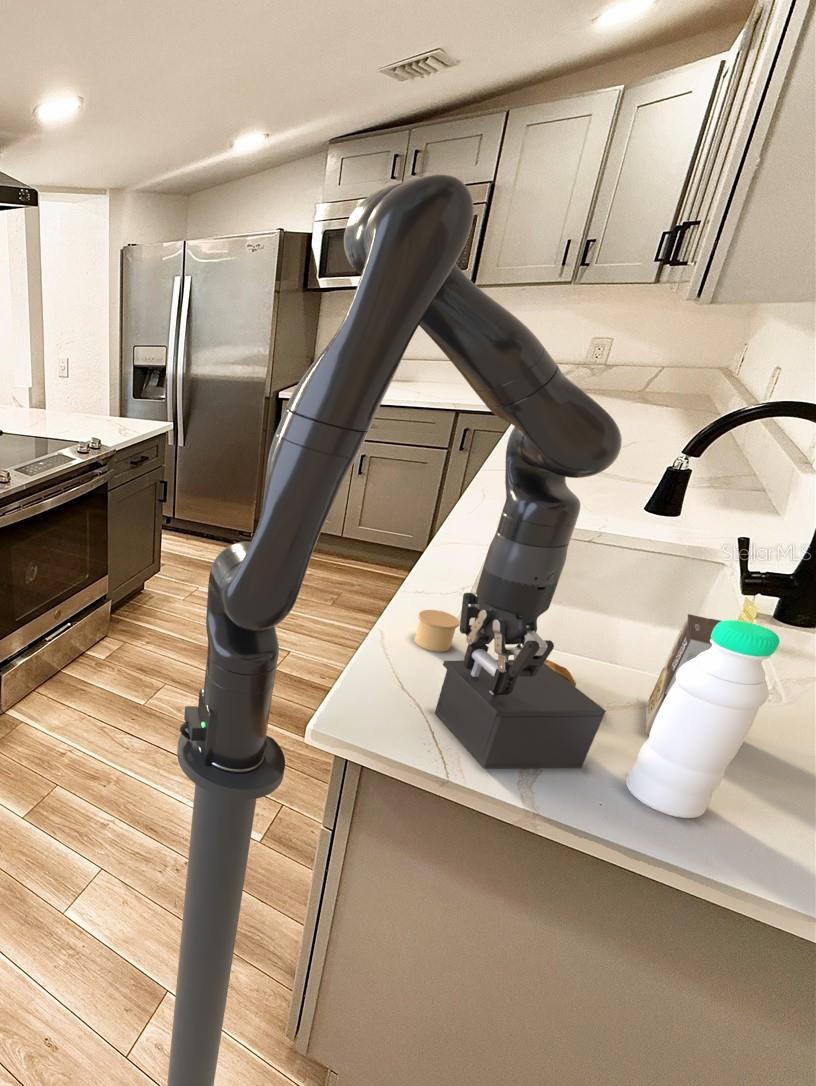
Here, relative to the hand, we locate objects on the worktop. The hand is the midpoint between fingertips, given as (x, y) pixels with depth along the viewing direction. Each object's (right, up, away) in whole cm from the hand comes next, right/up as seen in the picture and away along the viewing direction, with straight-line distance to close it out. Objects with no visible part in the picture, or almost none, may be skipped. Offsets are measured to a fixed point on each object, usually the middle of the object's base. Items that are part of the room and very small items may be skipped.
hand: (485, 679), depth 84 cm
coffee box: (+31, -8, +4) cm, 32 cm away
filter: (+11, +1, +26) cm, 29 cm away
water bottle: (+17, -14, -7) cm, 23 cm away
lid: (+5, -1, 0) cm, 5 cm away
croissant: (+20, -5, +13) cm, 24 cm away
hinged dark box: (+6, -9, +4) cm, 12 cm away
